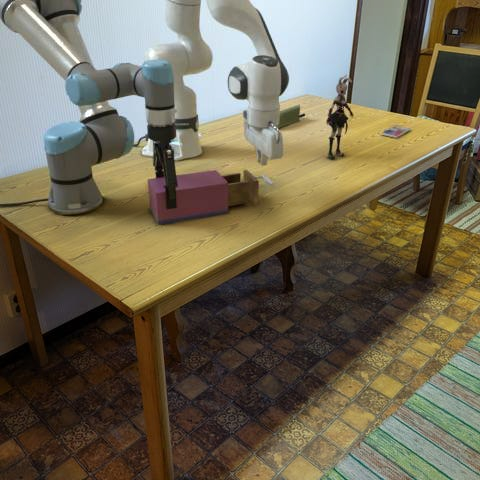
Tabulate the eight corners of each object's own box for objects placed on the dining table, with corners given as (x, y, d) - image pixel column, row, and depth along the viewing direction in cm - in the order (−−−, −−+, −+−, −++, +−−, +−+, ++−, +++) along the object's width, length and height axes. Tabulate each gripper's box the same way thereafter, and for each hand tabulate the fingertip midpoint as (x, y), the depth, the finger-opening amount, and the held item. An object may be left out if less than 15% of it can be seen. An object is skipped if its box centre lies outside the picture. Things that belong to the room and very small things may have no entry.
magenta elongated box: (216, 198, 155) (216, 169, 150) (228, 213, 147) (228, 182, 142) (150, 209, 148) (147, 179, 144) (158, 224, 140) (155, 193, 135)
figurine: (327, 162, 183) (336, 77, 168) (315, 158, 187) (322, 74, 172) (352, 153, 191) (362, 71, 177) (339, 149, 195) (348, 69, 181)
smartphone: (411, 128, 218) (397, 136, 208) (410, 130, 218) (396, 138, 208) (395, 124, 222) (380, 132, 211) (394, 126, 222) (380, 134, 212)
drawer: (263, 189, 159) (264, 167, 155) (275, 201, 152) (276, 178, 148) (186, 201, 151) (185, 177, 147) (195, 214, 144) (195, 190, 140)
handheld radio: (268, 129, 217) (300, 116, 234) (274, 130, 216) (306, 118, 233) (269, 113, 214) (302, 102, 231) (276, 115, 212) (308, 103, 229)
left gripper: (187, 134, 124) (191, 215, 135) (164, 110, 143) (169, 183, 154) (157, 137, 122) (163, 219, 133) (138, 113, 140) (144, 186, 151)
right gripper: (290, 126, 135) (287, 175, 142) (259, 107, 152) (258, 151, 158) (268, 129, 133) (266, 178, 140) (240, 109, 150) (239, 154, 156)
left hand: (166, 200), depth 143 cm, fingers closed on magenta elongated box, 10 cm apart
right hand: (262, 163), depth 149 cm, fingers closed
